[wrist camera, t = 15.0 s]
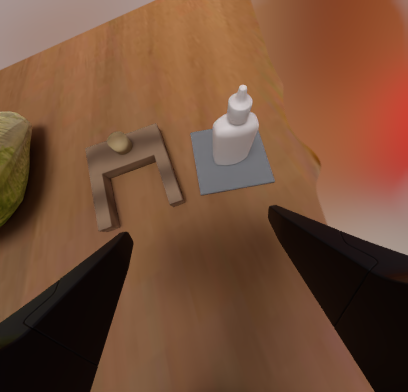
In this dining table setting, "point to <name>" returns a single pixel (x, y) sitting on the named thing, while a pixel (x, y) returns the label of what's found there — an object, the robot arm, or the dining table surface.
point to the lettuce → (13, 161)
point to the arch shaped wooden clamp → (127, 169)
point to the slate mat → (229, 166)
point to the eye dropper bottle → (235, 130)
